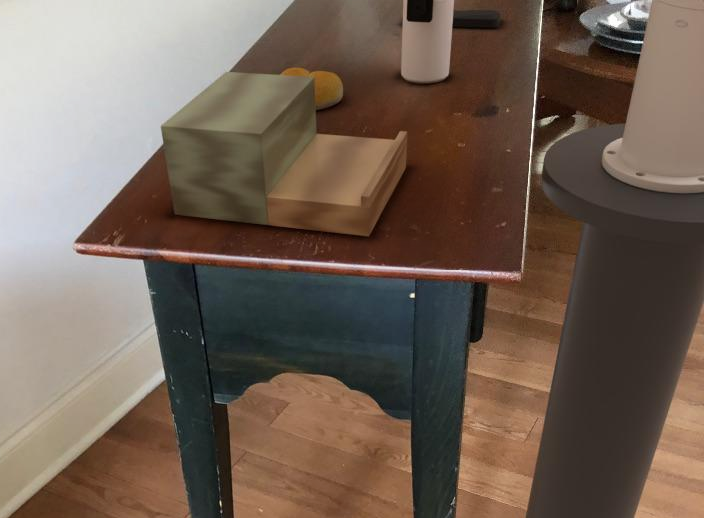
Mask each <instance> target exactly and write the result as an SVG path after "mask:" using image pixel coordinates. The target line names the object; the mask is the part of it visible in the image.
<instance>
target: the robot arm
mask: <svg viewBox="0 0 704 518" xmlns="http://www.w3.org/2000/svg"><path fill="white" fill-rule="evenodd" d="M433 2H434V0H407V21H409V22H427V23H429V22H431V21H432V18H433ZM650 4H651V5H650V8H649V12H648V18H647V23H646V27H645V32H644V35H643V36H644V37H643V40H642V46H641V51H640V55H639V58H638V63H637V64H638V65H637V69H636V73H635V78H634V82H633V88H632V92H631V97H630V101H629V102H630V103H629V107H628V111H627V116H626V121H625V123H626V125H625V129H624V134H623V138H620V139H617V140H615V141H613V142H611V143H610V144H609V145H607V146H606V147H605V149H604V151H603V156H602V165H603V167H604V169H605V170H606V171H607V172H608V173H609V174H610V175H611V176H613V177H614V178H616V179H618V180H620V181H622V182H624V183H627V184H629V185H632V186H635V187H639V188H642V189H646V190H651V191H656V192H664V193H677V194H692V193H703V192H704V0H651V3H650Z"/></svg>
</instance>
